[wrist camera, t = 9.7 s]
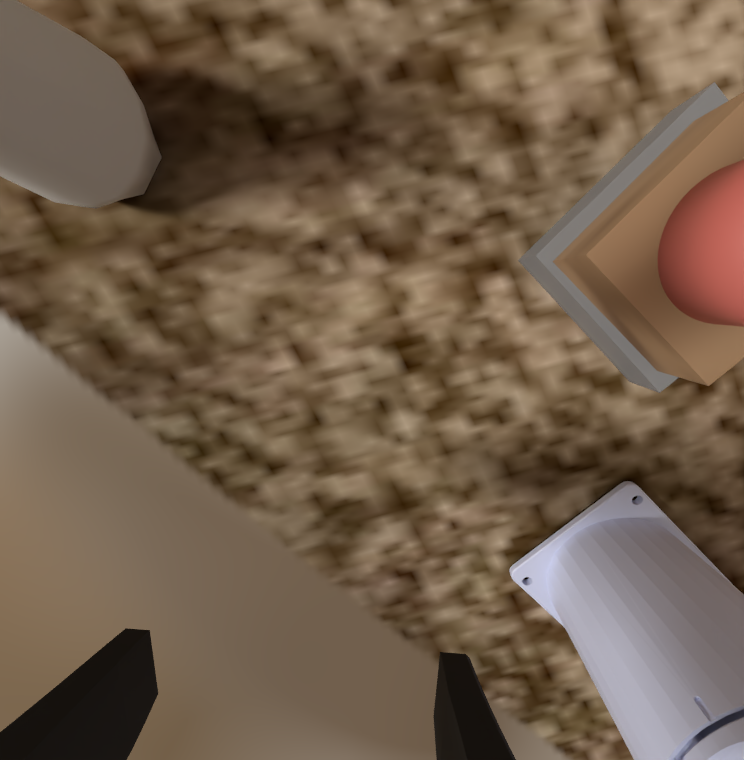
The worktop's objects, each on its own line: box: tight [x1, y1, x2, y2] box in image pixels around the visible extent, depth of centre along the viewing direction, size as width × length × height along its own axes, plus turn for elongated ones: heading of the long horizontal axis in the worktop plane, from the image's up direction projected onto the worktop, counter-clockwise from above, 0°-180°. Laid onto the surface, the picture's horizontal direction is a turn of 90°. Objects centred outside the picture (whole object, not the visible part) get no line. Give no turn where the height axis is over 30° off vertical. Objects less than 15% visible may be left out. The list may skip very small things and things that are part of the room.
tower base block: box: [518, 82, 728, 393], centre depth 15 cm, size 8×8×2 cm
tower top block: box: [553, 92, 744, 386], centre depth 13 cm, size 6×6×2 cm
